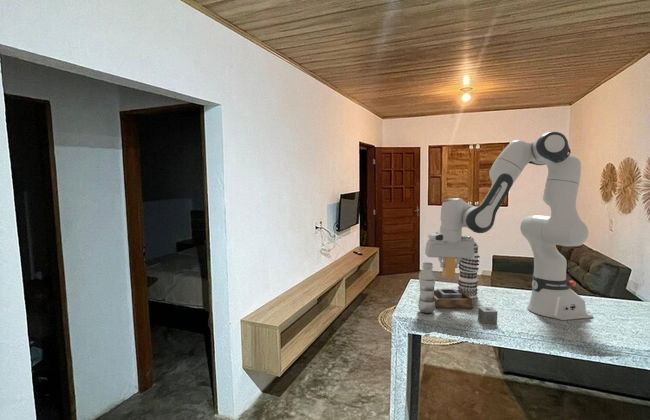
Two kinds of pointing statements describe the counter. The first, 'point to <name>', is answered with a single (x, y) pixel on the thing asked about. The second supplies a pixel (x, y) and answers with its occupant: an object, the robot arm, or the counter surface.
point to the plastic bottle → (427, 289)
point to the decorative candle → (469, 274)
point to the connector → (449, 267)
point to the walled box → (451, 299)
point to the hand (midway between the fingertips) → (448, 267)
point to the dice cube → (487, 315)
